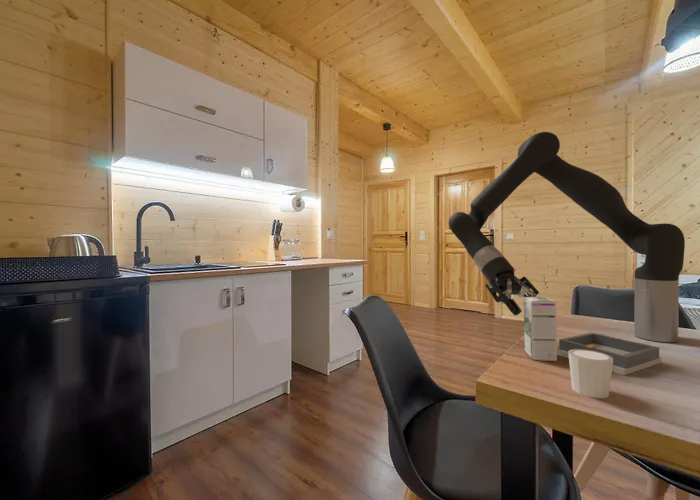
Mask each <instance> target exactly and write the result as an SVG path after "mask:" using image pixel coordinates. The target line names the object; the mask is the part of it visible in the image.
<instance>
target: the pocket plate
mask: <svg viewBox="0 0 700 500" xmlns="http://www.w3.org/2000/svg"><path fill="white" fill-rule="evenodd" d="M558 342H559V343H558V345H559V346H558V347H559V348H557V356H560V357H563V358H567V359H569V355H568V351H569V350H573V349H583V350H591V351H596V352H600V353H604V354H606V355H609V356H611V357H612V358H613V367H612V373H615V374H618V375H621V376H626V375H630V374H632V373H635V372H638V371H641V370H644V369H647V368H650V367H652V366H657V365H659V364H662V357H660V347H658V346H653V345H649V344H645V343H640V342H636V341H631V340H627V339H623V338H618V337H614V336H609V335H604V334H600V333H596V332H587V333H584V334H579V335H573V336H569V337H565V338H560V339H558Z"/></svg>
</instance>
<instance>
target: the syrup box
mask: <svg viewBox="0 0 700 500" xmlns="http://www.w3.org/2000/svg"><path fill="white" fill-rule="evenodd" d="M557 323H558V322H557V301H556V300H553V299H551V298H549V297H546V296H536V297H524V298H523V333H524V334H523V341H524V342H523V343H524V345H523V347H524V348H523V349H524V353H525V354H526V355H527V356H528V357H529V358H530V359H531V360H533V361H546V362H557V361H558V355H557V350H558V333H557V331H558V329H557V328H558V327H557V326H558V325H557Z"/></svg>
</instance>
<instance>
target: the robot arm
mask: <svg viewBox="0 0 700 500" xmlns="http://www.w3.org/2000/svg"><path fill="white" fill-rule="evenodd" d="M560 147H561V143H560V139H559V137H558V136H557V135H556V134H555V133H553V132H551V131H541V132H537V133H534V134H533V135H531V136H529V138H527V139H525V141H524V142H522V143H521V144H520V145H519V147H518V149H517V158H515V160H514V161H512V163H511V164H510V165H509V166H508V167H507V168H506V169H505V170H504V171H502V172H501V173H500V174H499V175H498V176H497V177H495V178H494V179H493V180H492V181H491V182H490V183H489V184H487V186H486V187H484V188H483V190H481V191H480V193H478V195H477V196H475V198H474V199H473V200H472V201H471V203H470V211H469V213H468V214H467V213H466V212H463V211H457V212H455V213H453V214H452V215H451V216H450V217H449V219H448V227H449V230H450V231H451V233H453V235H454V236H455V237H456V239H458V240H459V242H461V244H462V245H463V247H464V248H465V250H466V252H467V253H468V255H469V256H470V257H471V258H472V260H473V261H474V264H475V266H477V268H478V270H479V271H480V273H481V274H482V275H483V276H484V277H485V279H486V281H487V283H485V287H486V289H487V291H488V292H489V293H490V295H491V296H492V298H493V299H494V301H495V302H496V303H502V304H503V305H506V306H505V307H506V308H508V310H509V311H510V312H511V313H512V315H513V316H518V315H520V314H521V313H522V308H520V306H519V305H518V303H517V302H516V301H515V300H514V298H512V296H513V295H514V296H518V298H523V299H524V297H537V295H539V294H540V292H539V290H538V289H537V288H536V287H535V285H533V284H532V282H531V281H530V280H529V279H528V278H527V277H526V276H522V277H520V278H518V277H517V276H516V275H515V268H514V266H513V265H512V264H511V263H510V262H509V260H508V259H507V258H506V257H505V256H504V254H503V253H502V252H501V251H500V250H499V249H498V248H497V247H495V245H494V244H493V242H491V240H490V239H489V238H488V237H487V236H486V235H485V234H484V233H483V232H482V231H481V230H482V228H483V226H484V225H485V223H486V222H487V221H488V218H489V217H490V216H491V215H492V214H493V213H494V212H495V211H496V210H497V209H498V208H499V207H500V206H501V205H502V204H503V203H504V202H506V200H507V199H508V197H510V195H512V193H514V192H515V190H516V189H518V187H519V186H520V185H521V184H523V183H524V182H525V181H526V179H529V177H530V176H531V175H533V174H534V173H536V174H537V175H539V176H540V177H542V178H544V179H545V180H546V181H548V182H549V183H550V184H552V185H553V186H554V187H555V188H557V189H558V190H559V191H560V192H562V193H563V194H564V195H565V196H567V198H569V199H571V200H572V201H573V203H575V204H577V206H579V207H580V208H581V209H583V210H584V211H586V212H587V213H589V215H591V216H592V217H594V218H595V219H597V220H598V221H599V222H600V223H602V224H603V225H604V226H606V227H607V228H608V229H610V230H611V231H613V233H614V234H615V235H616V236H617V237H618V238H619V239H620V240H622V242H623V243H624V244H625V245H627V246H628V247H629V249H631V250H632V251H633V252H635V253H638V254H640V255H643V256H644V257H645V258H644V263H642V265H641V266H639V267H637V268H636V269H634V303H633V305H634V312H633V313H634V314H633V315H634V317H633V318H634V320H633V322H634V327H633V328H634V333H633V334H634V337H637V338H640V339H644V340H648V341H652V342H653V341H654V342H658V343H659V342H660V343H661V342H662V343H677V342H679V312H680V311H679V308H680V307H679V306H680V305H679V304H680V303H679V300H680V299H679V295H680V293H679V291H680V290H679V285H680V284H679V282H680V281H679V280H680V274H681V273H682V271H683V267H684V260H685V258H684V257H685V249H686V248H685V247H686V246H685V245H686V243H685V241H686V240H685V235H684V233H683V231H682V230H681V228H680V227H678V226H677V225H675V224H673V223H652V224H650V223H648V222H646V221H644V220H642V219H641V218H639V217H638V216H637V215H635V214H634V213H633V212H632V211H630V210H629V208H628V207H627V205H626V203H625V201H624V198H623V196H622V194H621V193H620V191H619V190H618V189H617V188H616V187H615V186H613V185H612V184H611V183H610V182H608V181H606V180H605V179H604V178H603V177H601V176H600V175H598V174H596V173H593V172H591V171H589V170H587V169H585V168H581V167H578V166H576V165H574V164H571V163H569V162H567V161H566V160H564V159H563V158H562V157H560V156H559V150H560ZM497 294H498V295H497Z"/></svg>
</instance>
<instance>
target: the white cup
mask: <svg viewBox="0 0 700 500" xmlns="http://www.w3.org/2000/svg"><path fill="white" fill-rule="evenodd" d="M568 355H569V358H568V362H569V363H568V364H569V373H570V380H571V381H570V382H571V389H572V390H573V391H574V392H576V393H578V394H579V395H582V396H585V397H588V398H593V399H606V398H608V397H609V396H610V392H611V391H610V390H611V389H610V388H611V382H612V373H613V372H612V367H613V358H612V357H611V356H609V355H606V354H604V353H600V352H596V351H591V350H583V349H573V350H569V351H568Z"/></svg>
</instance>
